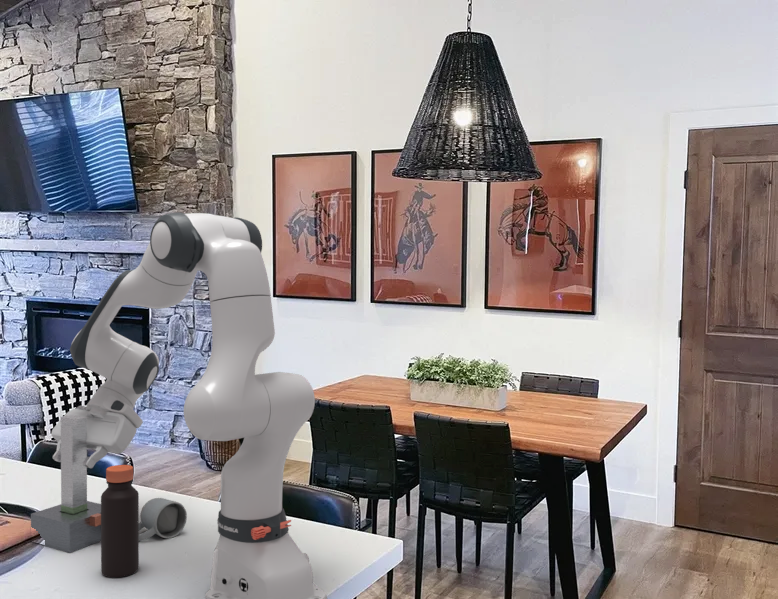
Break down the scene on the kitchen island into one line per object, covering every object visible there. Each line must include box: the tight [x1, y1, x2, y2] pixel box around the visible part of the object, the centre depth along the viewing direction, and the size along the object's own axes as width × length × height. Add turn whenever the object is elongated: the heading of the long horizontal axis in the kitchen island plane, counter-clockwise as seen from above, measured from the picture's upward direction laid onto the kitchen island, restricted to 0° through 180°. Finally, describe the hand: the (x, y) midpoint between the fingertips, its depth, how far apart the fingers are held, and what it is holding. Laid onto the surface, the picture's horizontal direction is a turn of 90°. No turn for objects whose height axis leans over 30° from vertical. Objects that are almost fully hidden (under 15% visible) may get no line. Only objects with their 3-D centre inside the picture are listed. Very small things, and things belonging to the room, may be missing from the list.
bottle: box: [100, 464, 140, 579], centre depth 148 cm, size 7×7×20 cm
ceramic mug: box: [139, 497, 188, 542], centre depth 168 cm, size 11×8×8 cm
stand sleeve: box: [30, 500, 101, 554], centre depth 164 cm, size 14×12×6 cm
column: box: [60, 415, 88, 515], centre depth 164 cm, size 5×4×21 cm
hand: (71, 463), depth 164 cm, fingers open, 8 cm apart
